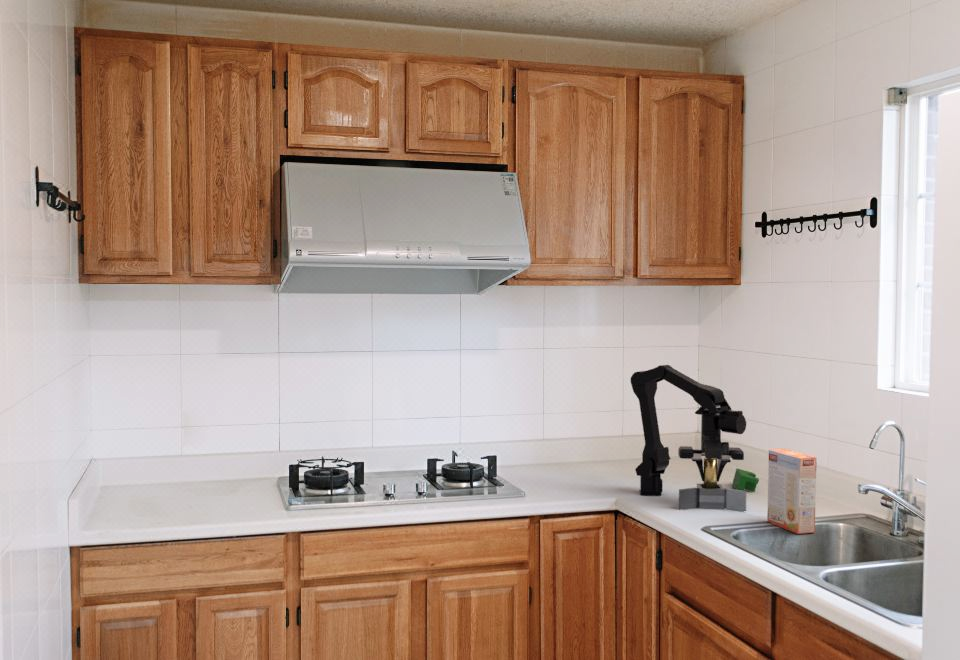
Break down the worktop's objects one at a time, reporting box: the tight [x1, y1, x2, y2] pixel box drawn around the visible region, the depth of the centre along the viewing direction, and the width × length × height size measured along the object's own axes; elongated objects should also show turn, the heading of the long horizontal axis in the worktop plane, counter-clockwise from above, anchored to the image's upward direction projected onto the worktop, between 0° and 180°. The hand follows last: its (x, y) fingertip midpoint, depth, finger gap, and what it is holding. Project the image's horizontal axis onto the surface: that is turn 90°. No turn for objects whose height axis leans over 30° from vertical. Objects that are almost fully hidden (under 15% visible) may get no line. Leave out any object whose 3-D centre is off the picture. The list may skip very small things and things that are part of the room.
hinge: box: [678, 482, 748, 512], centre depth 271 cm, size 20×10×6 cm, turn 83°
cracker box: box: [766, 448, 817, 535], centre depth 248 cm, size 14×6×21 cm, turn 17°
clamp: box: [732, 468, 760, 492], centre depth 294 cm, size 12×6×9 cm, turn 165°
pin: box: [702, 456, 718, 489], centre depth 272 cm, size 4×4×9 cm
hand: (710, 481), depth 272 cm, fingers closed on pin, 4 cm apart
